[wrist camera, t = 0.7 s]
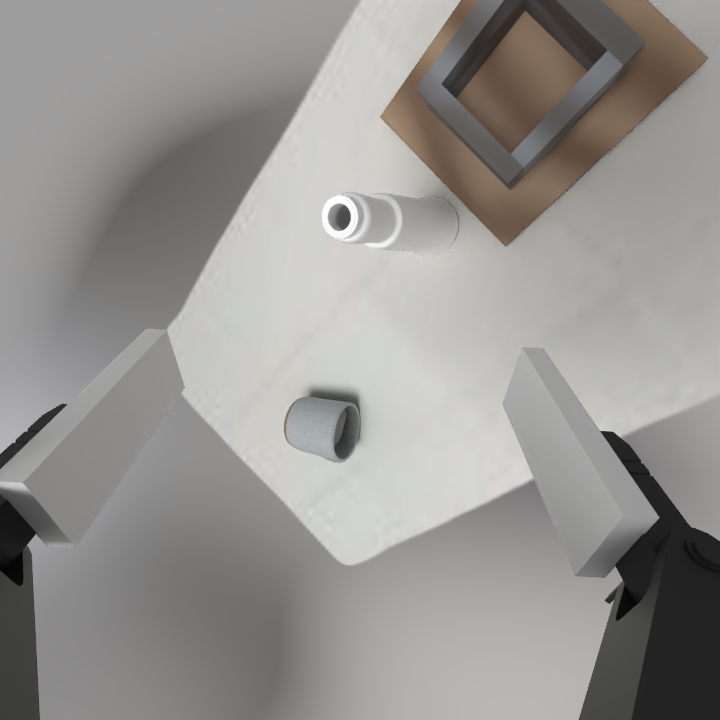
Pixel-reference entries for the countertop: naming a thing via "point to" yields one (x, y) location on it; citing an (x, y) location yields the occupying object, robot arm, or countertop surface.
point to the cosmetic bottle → (392, 222)
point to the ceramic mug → (323, 427)
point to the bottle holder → (534, 97)
